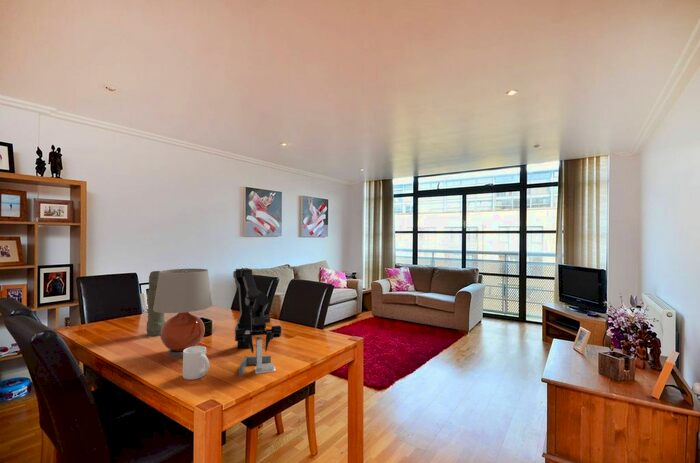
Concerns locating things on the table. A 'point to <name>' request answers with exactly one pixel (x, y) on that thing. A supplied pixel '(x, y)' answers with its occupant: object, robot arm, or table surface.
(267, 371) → the plate
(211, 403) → the table surface
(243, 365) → the corner wall
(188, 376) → the mug
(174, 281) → the lamp
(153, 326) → the thermos
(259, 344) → the bracket
